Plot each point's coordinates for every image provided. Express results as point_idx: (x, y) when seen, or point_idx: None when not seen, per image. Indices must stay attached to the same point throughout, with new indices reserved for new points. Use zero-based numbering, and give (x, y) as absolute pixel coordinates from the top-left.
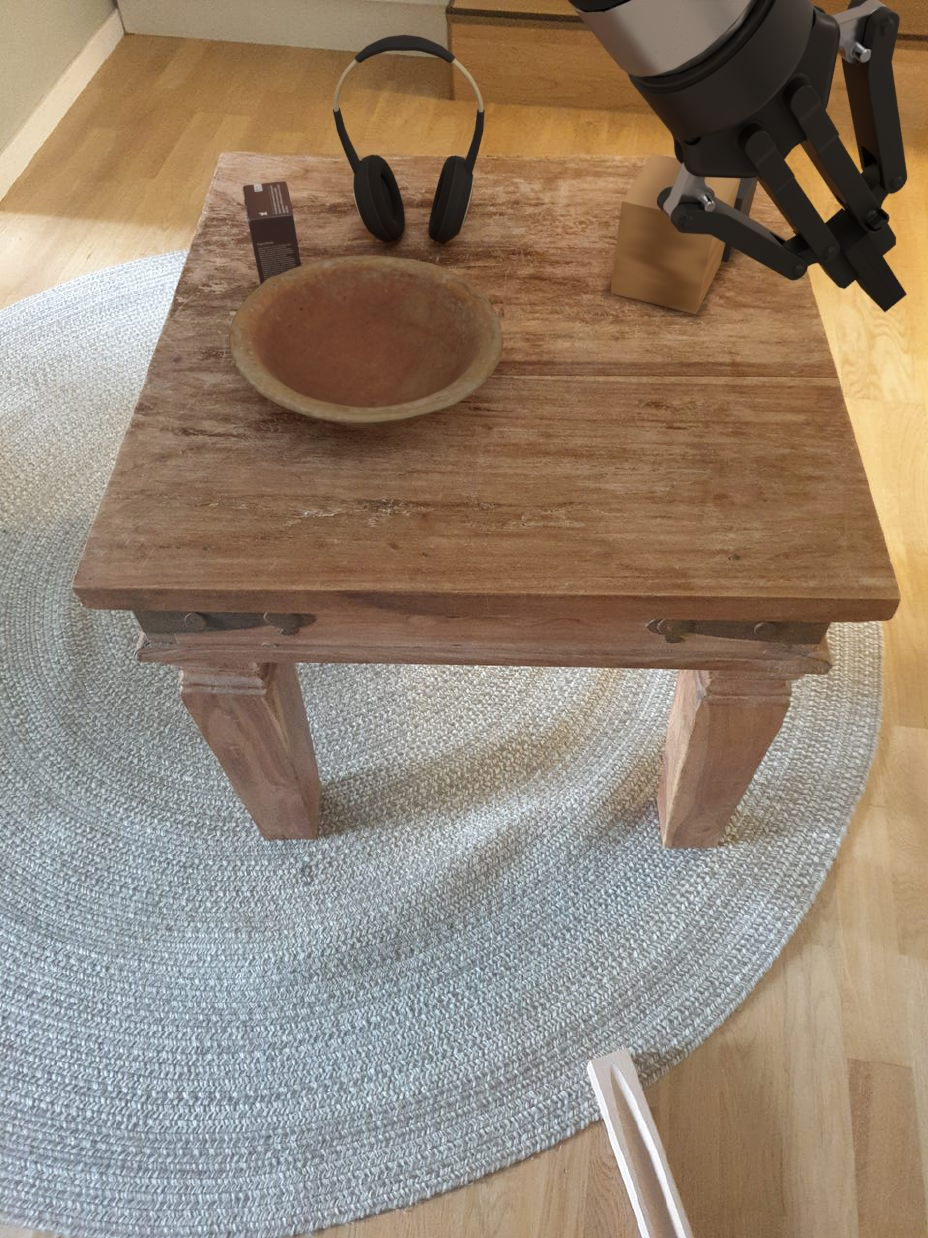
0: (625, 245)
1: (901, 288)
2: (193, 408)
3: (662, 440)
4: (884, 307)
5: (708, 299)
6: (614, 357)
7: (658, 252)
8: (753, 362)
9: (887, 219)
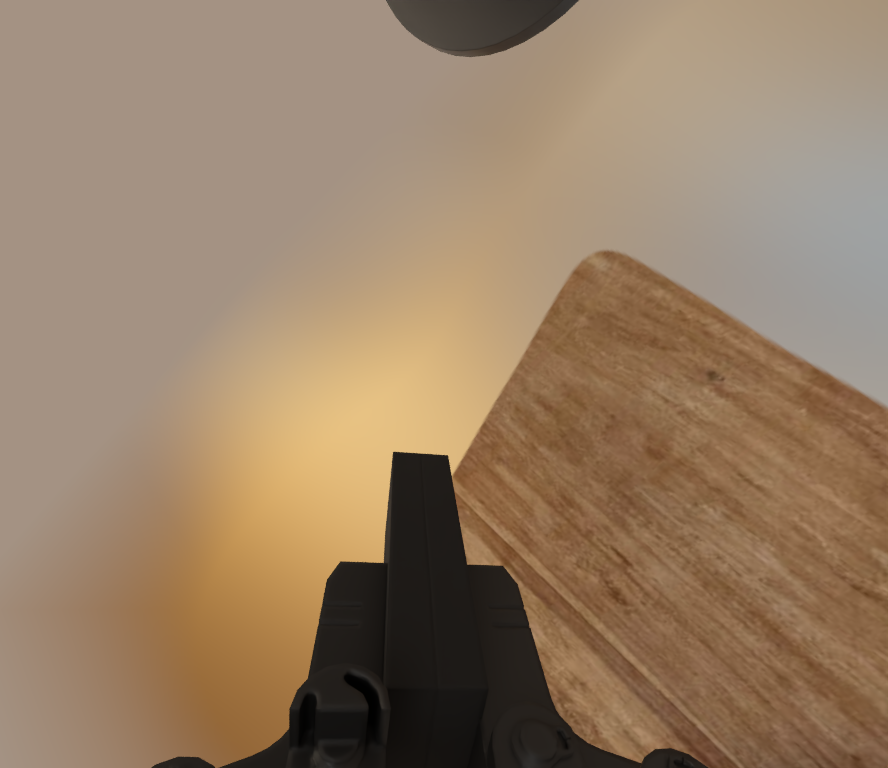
0: None
1: (395, 467)
2: None
3: (649, 557)
4: (444, 463)
5: None
6: (604, 672)
7: None
8: (488, 548)
9: (307, 689)
